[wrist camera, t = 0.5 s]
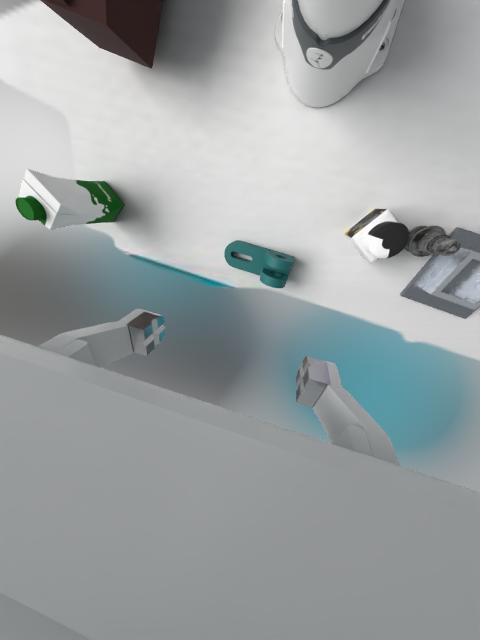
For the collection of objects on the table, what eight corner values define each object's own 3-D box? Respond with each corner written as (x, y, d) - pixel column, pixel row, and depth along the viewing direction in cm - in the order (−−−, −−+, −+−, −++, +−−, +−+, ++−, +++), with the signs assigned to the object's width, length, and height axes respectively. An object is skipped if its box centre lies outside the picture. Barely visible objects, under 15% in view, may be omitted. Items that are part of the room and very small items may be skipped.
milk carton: (90, 200, 55) (2, 197, 38) (103, 174, 50) (10, 159, 34) (114, 227, 57) (41, 235, 40) (129, 205, 53) (53, 204, 36)
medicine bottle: (375, 208, 41) (401, 208, 31) (393, 233, 42) (424, 242, 32) (343, 233, 45) (358, 241, 34) (361, 256, 46) (380, 270, 36)
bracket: (294, 256, 50) (294, 264, 43) (285, 280, 53) (284, 290, 47) (229, 237, 51) (220, 242, 45) (225, 261, 55) (215, 269, 48)
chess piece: (429, 251, 42) (472, 265, 32) (398, 254, 44) (429, 268, 34) (438, 222, 40) (488, 227, 30) (404, 226, 41) (440, 233, 31)
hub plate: (456, 227, 39) (471, 229, 36) (534, 253, 39) (557, 258, 35) (399, 294, 48) (407, 300, 45) (462, 316, 47) (475, 325, 44)
